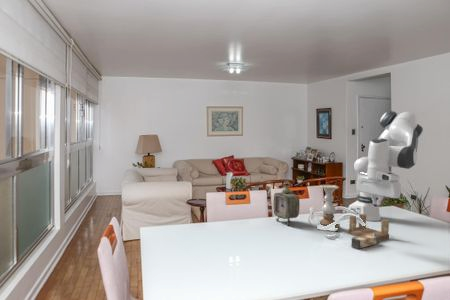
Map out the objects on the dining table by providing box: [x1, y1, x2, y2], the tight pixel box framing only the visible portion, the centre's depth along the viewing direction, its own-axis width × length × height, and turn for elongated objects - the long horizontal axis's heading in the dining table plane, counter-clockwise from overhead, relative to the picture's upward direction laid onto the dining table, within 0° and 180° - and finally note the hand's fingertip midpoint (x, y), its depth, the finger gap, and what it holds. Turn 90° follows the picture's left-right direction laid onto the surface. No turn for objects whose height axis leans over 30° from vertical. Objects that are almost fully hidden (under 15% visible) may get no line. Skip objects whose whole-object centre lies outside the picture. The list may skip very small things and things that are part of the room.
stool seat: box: [347, 214, 390, 242], centre depth 170 cm, size 16×11×9 cm
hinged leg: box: [350, 235, 380, 250], centre depth 155 cm, size 15×4×4 cm, turn 120°
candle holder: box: [319, 184, 341, 229], centre depth 183 cm, size 11×11×24 cm
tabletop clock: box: [273, 180, 300, 226], centre depth 193 cm, size 14×9×25 cm, turn 25°
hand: (376, 204), depth 149 cm, fingers closed
